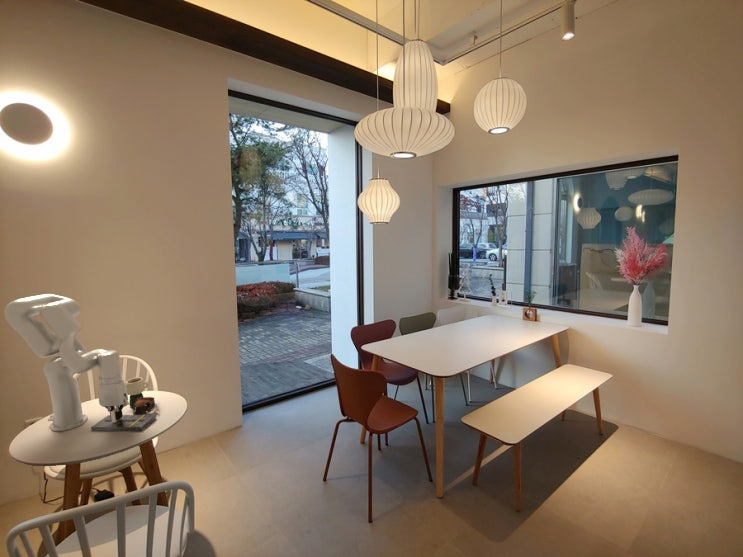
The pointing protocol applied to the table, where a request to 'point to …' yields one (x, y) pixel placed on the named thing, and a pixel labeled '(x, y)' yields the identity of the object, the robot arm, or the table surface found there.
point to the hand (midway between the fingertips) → (116, 418)
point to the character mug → (135, 389)
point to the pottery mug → (140, 407)
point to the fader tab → (113, 415)
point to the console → (124, 423)
